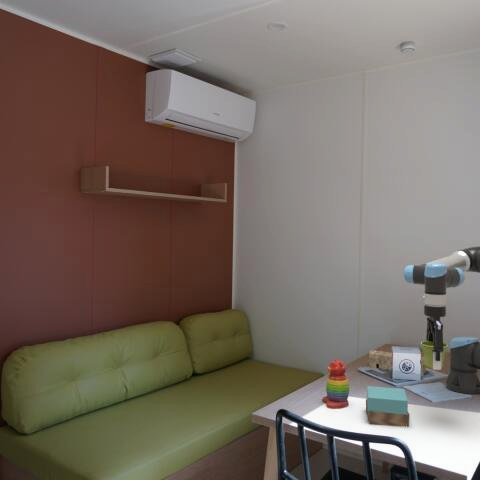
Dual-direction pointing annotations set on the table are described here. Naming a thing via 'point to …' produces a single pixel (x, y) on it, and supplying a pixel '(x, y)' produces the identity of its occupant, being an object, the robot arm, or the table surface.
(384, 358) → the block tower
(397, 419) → the tower base
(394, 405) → the tower top
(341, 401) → the stacking bear
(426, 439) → the table surface
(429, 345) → the plant pot
